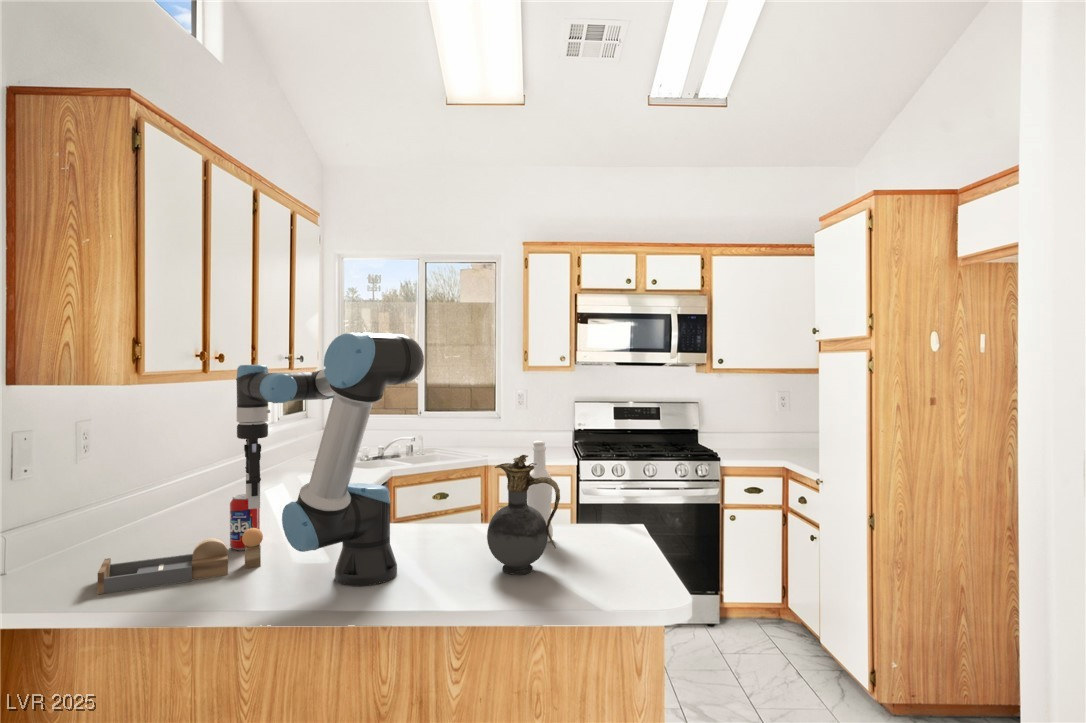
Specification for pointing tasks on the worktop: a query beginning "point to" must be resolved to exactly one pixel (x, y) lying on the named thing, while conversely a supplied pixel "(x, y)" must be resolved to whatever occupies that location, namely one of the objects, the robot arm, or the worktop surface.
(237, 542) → the soda can
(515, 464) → the pitcher
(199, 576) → the tan rounded block
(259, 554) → the hollow wooden sleeve
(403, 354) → the robot arm
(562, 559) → the worktop surface
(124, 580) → the tray
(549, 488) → the bottle
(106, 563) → the backstop
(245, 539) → the ball
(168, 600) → the worktop surface
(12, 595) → the worktop surface
